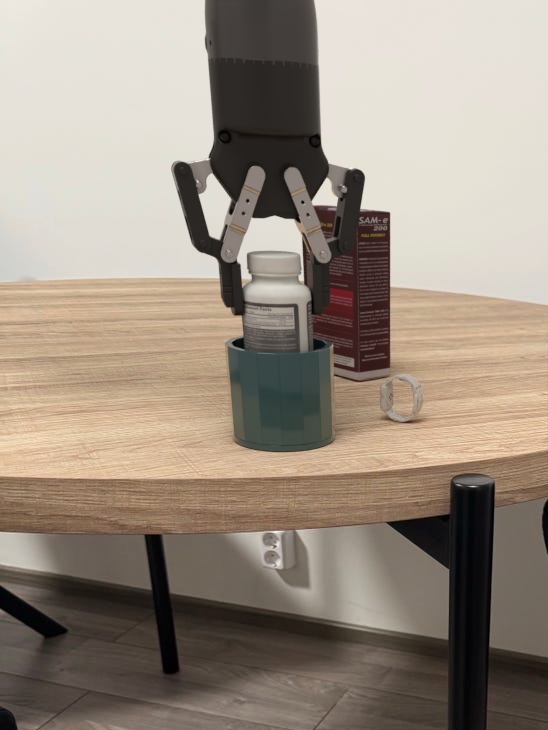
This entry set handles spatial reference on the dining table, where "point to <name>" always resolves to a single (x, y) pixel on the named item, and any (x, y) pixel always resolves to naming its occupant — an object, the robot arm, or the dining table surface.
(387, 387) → the grey marbled ring
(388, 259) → the supplement box
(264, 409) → the cup
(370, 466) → the dining table surface
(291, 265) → the pill bottle
